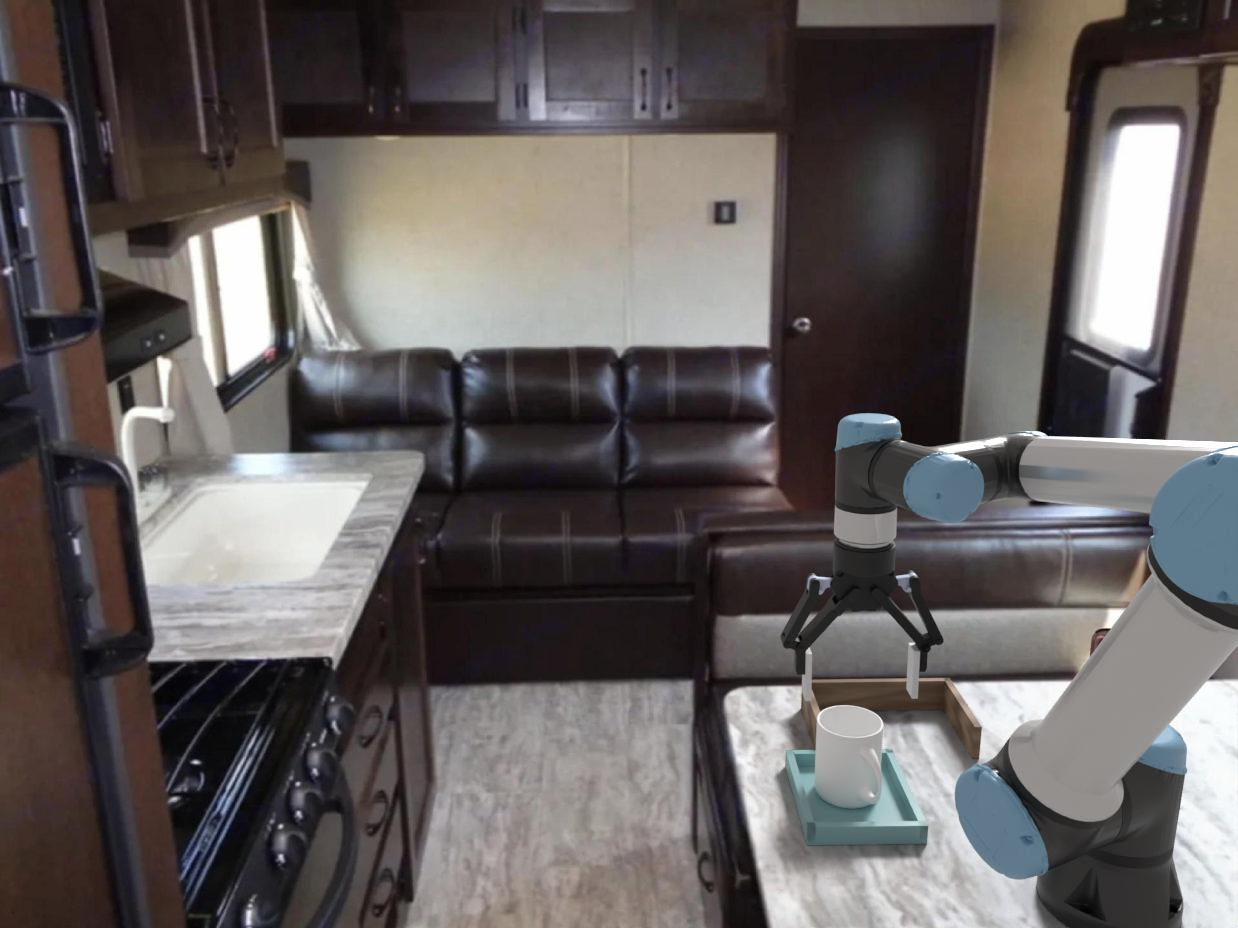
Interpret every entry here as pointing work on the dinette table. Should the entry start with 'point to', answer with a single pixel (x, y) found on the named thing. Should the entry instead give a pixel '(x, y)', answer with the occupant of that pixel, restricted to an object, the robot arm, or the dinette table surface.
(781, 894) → the dinette table surface
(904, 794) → the tray
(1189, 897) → the dinette table surface
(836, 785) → the mug
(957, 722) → the bay
